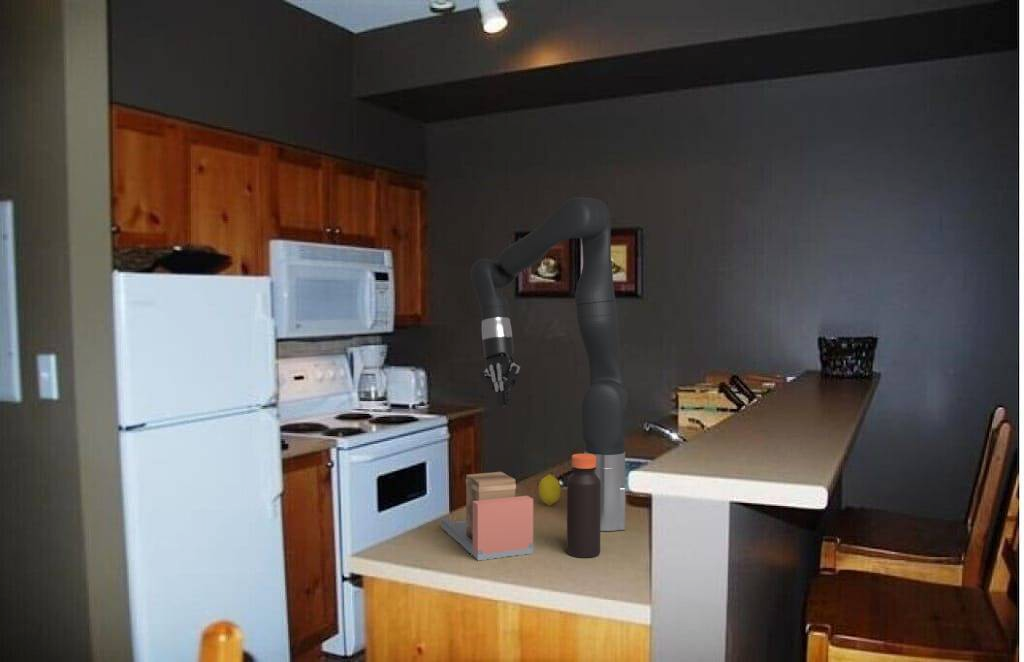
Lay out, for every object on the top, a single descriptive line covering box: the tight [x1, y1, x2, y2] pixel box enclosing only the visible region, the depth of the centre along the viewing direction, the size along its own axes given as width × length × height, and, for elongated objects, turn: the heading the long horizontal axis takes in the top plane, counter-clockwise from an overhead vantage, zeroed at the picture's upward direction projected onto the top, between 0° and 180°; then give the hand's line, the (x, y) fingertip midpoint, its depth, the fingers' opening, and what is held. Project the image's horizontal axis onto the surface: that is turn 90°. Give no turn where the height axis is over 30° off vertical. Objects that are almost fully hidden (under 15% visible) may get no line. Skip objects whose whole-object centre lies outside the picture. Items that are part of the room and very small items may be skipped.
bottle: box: [566, 453, 601, 559], centre depth 157 cm, size 7×7×20 cm
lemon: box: [537, 474, 561, 507], centre depth 195 cm, size 6×6×8 cm
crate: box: [465, 471, 517, 540], centre depth 163 cm, size 8×8×13 cm
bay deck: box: [440, 517, 534, 562], centre depth 166 cm, size 24×12×2 cm, turn 22°
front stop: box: [473, 495, 534, 555], centre depth 156 cm, size 3×12×10 cm, turn 112°
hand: (504, 406), depth 191 cm, fingers closed
